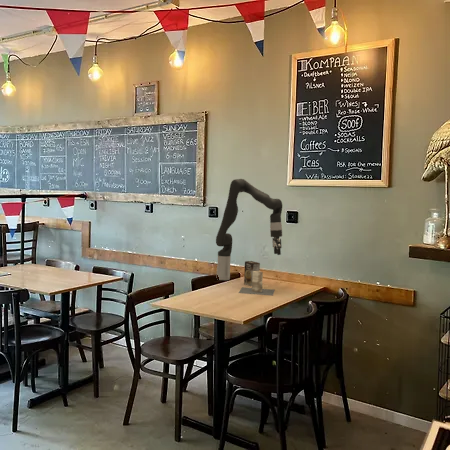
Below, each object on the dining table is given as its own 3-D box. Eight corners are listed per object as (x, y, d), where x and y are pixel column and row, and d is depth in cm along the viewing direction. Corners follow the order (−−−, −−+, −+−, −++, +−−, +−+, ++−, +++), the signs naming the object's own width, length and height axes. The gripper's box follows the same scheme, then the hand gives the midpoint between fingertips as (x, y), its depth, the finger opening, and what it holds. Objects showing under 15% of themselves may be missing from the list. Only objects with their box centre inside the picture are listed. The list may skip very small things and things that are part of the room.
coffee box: (243, 284, 327) (244, 261, 326) (250, 283, 331) (251, 260, 330) (252, 286, 320) (253, 263, 318) (259, 285, 324) (260, 262, 322)
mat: (238, 293, 299) (238, 293, 299) (242, 287, 316) (242, 287, 316) (272, 296, 296) (272, 295, 296) (274, 290, 312) (274, 289, 312)
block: (256, 292, 303) (257, 272, 301) (252, 290, 306) (252, 271, 305) (262, 291, 305) (262, 271, 304) (257, 290, 309) (258, 270, 308)
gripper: (268, 229, 313) (269, 254, 313) (272, 230, 299) (274, 255, 299) (279, 228, 314) (280, 253, 314) (284, 229, 300) (285, 254, 300)
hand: (277, 254), depth 307 cm, fingers open, 8 cm apart
